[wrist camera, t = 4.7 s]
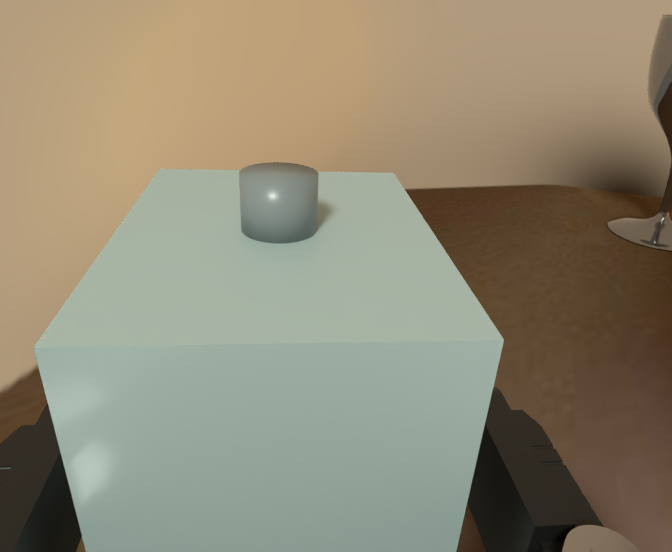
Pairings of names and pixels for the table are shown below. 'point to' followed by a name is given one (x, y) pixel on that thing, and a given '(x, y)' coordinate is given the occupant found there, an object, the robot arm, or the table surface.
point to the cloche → (270, 370)
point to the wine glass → (668, 108)
